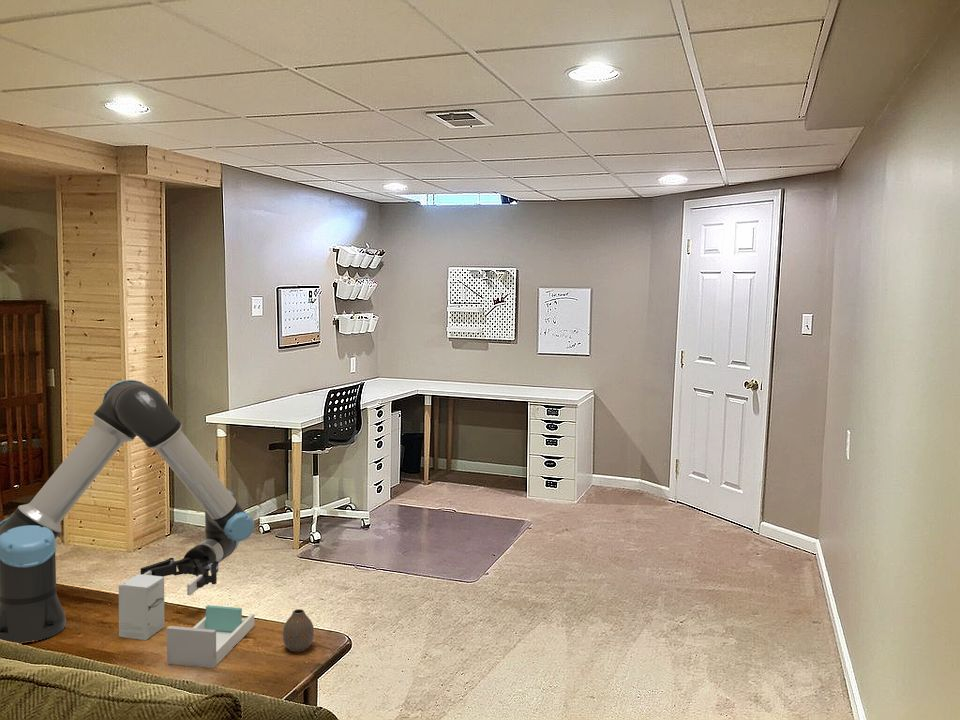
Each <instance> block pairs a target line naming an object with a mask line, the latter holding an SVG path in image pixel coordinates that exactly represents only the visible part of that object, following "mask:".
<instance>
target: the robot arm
mask: <svg viewBox="0 0 960 720" xmlns="http://www.w3.org/2000/svg"><path fill="white" fill-rule="evenodd" d="M92 420H93V424H92V425H91V427H90V428H89V429H88V431H86V433H85V434H84V435H83V436H82V438H81V439H80V440H79V441H78V443H76V445H75V446H74V448H73V449H72V450H71V451H70V452H69V453H68V455H67V456H66V457H65V459H64V460H63V461H62V462H61V464H59V466H58V468H57V469H56V470H55V471H54V473H52V475H50V477H49V478H48V480H47V481H46V482H45V483H44V485H43V486H42V488H40V489H39V491H38V492H37V493H36V494H35V496H34V497H33V499H32V500H31V501H30V502H29V503H26V504H21V505H20V504H19V505H18V507H17V508H16V509H15V510H14V511H13V512H12V513H11V515H10V516H9V517H7V518H5V519H3V520H2V521H0V639H3V640H7V641H13V642H18V643H22V642H25V641H32V640H35V641H36V640H41V641H43V640H42V639H44V640H46V639H45V638H47V639H49V637H50V638H52V637H54V636H56V635H58V634H59V633H61V632H62V631H63V630H64V629H65V628H66V625H67V623H66V613H65V610H64V609H63V606H62V604H61V602H60V599H59V597H58V595H57V571H56V570H57V569H56V568H57V566H56V563H57V562H56V549H57V542H56V538H58V536H59V535H60V534H61V533H62V526H61V525H62V524H61V523H62V521H63V519H64V518H65V517H66V516H67V515H68V513H70V511H71V510H72V508H73V507H74V506H75V504H76V503H77V502H78V501H79V499H80V498H81V497H82V496H83V494H85V492H86V491H87V489H88V488H89V487H90V485H91V484H92V483H93V481H94V480H96V478H97V476H98V475H99V474H100V473H101V472H102V471H103V469H104V468H105V467H106V465H107V464H108V463H109V461H110V460H111V459H112V458H113V456H114V455H115V454H116V452H118V450H119V449H120V448H121V446H122V445H123V444H124V443H126V442H127V443H128V442H132V441H134V439H135V438H136V437H138V438H139V439H140V440H141V441H142V442H143V443H144V444H145V445H146V446H147V448H148V449H154V450H155V451H156V453H158V455H160V457H161V458H162V460H163V461H165V463H166V464H167V465H168V467H170V469H171V470H172V472H173V473H174V475H176V476H177V478H178V479H179V480H180V481H181V483H182V484H183V485H184V487H186V489H187V490H188V491H189V492H190V493H191V495H192V496H193V497H194V498H195V500H196V501H197V502H198V503H199V504H200V506H201V508H203V509H204V515H205V516H204V522H205V524H204V525H205V528H204V530H205V531H204V532H205V534H204V535H205V539H204V540H202V541H201V542H199V543H198V544H196V545H195V546H194V547H192V548H191V549H189V550H188V551H187V552H186V553H185V555H184V557H183V558H181V559H179V560H175V559H174V557H169V558H166V560H164V561H163V560H162V561H159V562H156V563H153V564H150V565H147V566H144V567H141V568H140V574H142V575H153V576H162V577H164V578H165V577H168V576H171V575H172V576H175V577H176V576H179V575H193V576H195V578H193V579H192V580H190V581H189V582H188V583H187V584H186V591H187V593H186V594H187V596H192V595H193V594H194V593H196V591H198V590H199V589H201V588H203V587H204V586H207V585H209V584H211V585H216V584H217V579H218V577H217V575H218V574H217V573H218V572H219V564H220V563H221V562H222V561H224V560H225V559H227V558H228V557H230V555H233V553H234V552H235V550H236V549H237V548H238V547H239V544H240V542H243V541H246V540H247V539H248V538H249V537H250V536H252V534H253V532H254V530H255V522H254V518H252V516H251V515H250V514H249V513H248V512H246V511H245V510H244V508H243V507H242V506H241V505H240V504H239V502H237V500H236V498H235V497H234V493H233V491H231V490H228V488H227V487H226V485H225V484H224V483H223V482H222V481H221V480H220V478H219V476H217V474H216V473H215V472H214V470H213V469H212V467H210V465H209V464H208V462H206V460H205V459H204V458H203V456H202V455H201V454H200V453H199V451H198V450H197V449H196V447H195V446H194V444H192V443H191V441H190V439H189V438H188V437H187V436H186V435H185V434H184V432H183V431H182V428H183V427H182V426H183V425H182V423H181V422H180V420H179V419H178V418H177V416H176V414H175V413H174V412H173V411H172V409H171V407H170V406H169V404H168V403H167V401H166V399H165V398H164V396H163V395H162V394H161V393H160V392H159V391H158V390H157V389H155V388H153V387H152V386H149V385H148V384H146V383H143V382H142V381H140V380H135V379H124V380H120V381H118V382H115V383H113V384H112V385H110V387H109V388H108V389H107V390H106V391H105V393H104V396H103V398H102V403H100V405H99V406H98V408H97V409H96V411H94V413H93V414H92ZM209 571H210V575H209ZM64 627H65V628H64Z"/></svg>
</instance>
